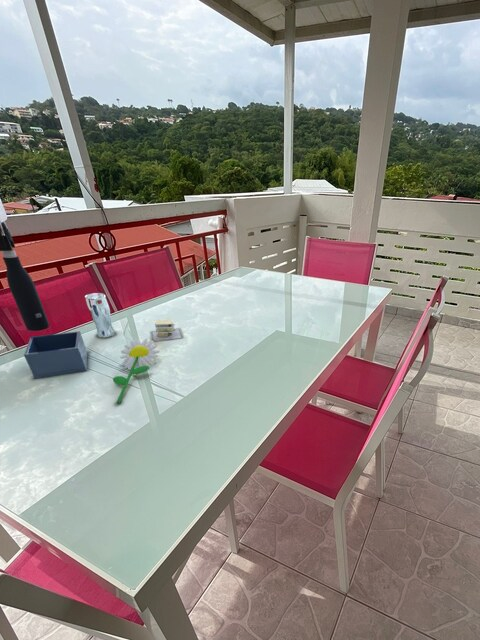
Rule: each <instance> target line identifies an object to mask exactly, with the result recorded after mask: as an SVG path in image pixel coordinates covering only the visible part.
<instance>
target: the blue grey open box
mask: <svg viewBox="0 0 480 640" xmlns="http://www.w3.org/2000/svg"><path fill="white" fill-rule="evenodd" d="M23 356H24V359H25V361H26V363H27V365H28V368H29V369H30V371H31V373H32V376H33V378H34V379H41V378H48V377H49V378H50V377H55V376H61V375H67V374H74V373H80V372H86V371H87V367H88V366H87V365H88V349H87V347H86V344H85V342H84V338H83V336H82V333H81V330H79V331H69V332H61V333H51V334H43V335H34V336H30V338H29V341H28V343H27V346H26V348H25V351H24V353H23Z"/></svg>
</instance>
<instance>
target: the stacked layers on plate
mask: <svg viewBox="0 0 480 640" xmlns="http://www.w3.org/2000/svg"><path fill="white" fill-rule="evenodd" d="M153 322H154V326H155V331H152V332H151V333H152V338H153V342H159V341H168V340H175V339H182V336H181V335H182V334H181V331H180V329H179V328H176V329H175V327H176V326H175V324H174V323H175V321H174V320H173V319H171V318H161V319H155V320H153Z"/></svg>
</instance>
